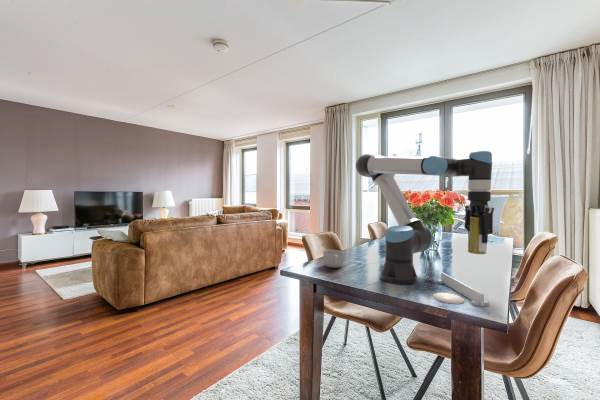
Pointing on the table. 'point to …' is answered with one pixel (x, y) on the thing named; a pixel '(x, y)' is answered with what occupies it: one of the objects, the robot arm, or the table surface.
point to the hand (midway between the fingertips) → (476, 249)
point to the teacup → (333, 258)
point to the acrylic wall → (464, 290)
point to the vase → (474, 236)
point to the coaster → (448, 298)
